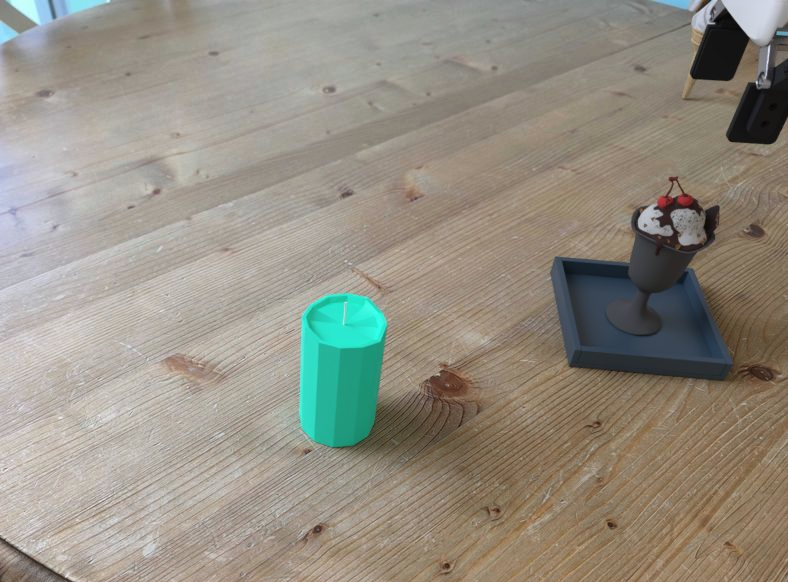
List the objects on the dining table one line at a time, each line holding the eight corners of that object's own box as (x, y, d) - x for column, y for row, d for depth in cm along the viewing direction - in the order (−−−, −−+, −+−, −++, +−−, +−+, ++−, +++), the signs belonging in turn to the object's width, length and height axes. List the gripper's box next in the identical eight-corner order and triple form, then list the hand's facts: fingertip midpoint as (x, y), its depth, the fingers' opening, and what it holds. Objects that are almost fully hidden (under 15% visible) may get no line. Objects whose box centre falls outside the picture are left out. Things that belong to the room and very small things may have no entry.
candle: (316, 457, 56) (323, 341, 48) (287, 401, 60) (288, 286, 52) (387, 434, 58) (405, 319, 50) (354, 382, 62) (366, 267, 54)
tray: (685, 284, 73) (693, 268, 72) (724, 380, 64) (734, 364, 63) (550, 272, 74) (555, 256, 73) (568, 366, 65) (574, 349, 63)
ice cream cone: (670, 86, 106) (712, -27, 96) (710, 97, 104) (758, -17, 94) (658, 100, 103) (700, -16, 92) (699, 112, 101) (747, -5, 90)
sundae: (582, 318, 68) (637, 173, 58) (617, 285, 72) (673, 143, 62) (650, 354, 65) (720, 207, 55) (682, 318, 69) (754, 174, 59)
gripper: (1000, -136, 36) (826, 174, 48) (854, -199, 49) (744, 61, 61) (840, -143, 37) (707, 166, 49) (735, -203, 49) (650, 55, 61)
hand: (728, 108), depth 55 cm, fingers open, 9 cm apart
